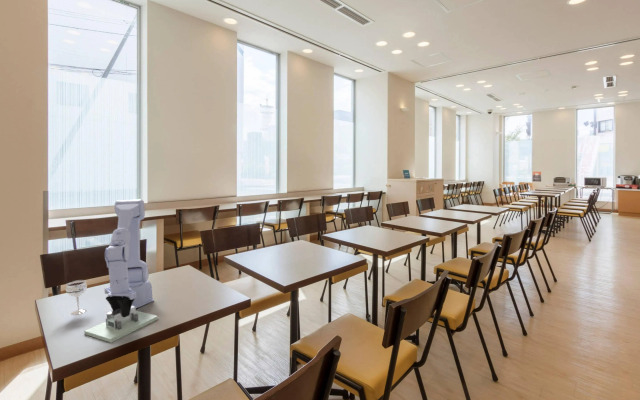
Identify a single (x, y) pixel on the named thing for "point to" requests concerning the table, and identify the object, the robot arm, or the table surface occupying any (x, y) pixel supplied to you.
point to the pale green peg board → (120, 327)
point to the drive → (119, 318)
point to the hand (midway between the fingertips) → (121, 315)
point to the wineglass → (76, 292)
